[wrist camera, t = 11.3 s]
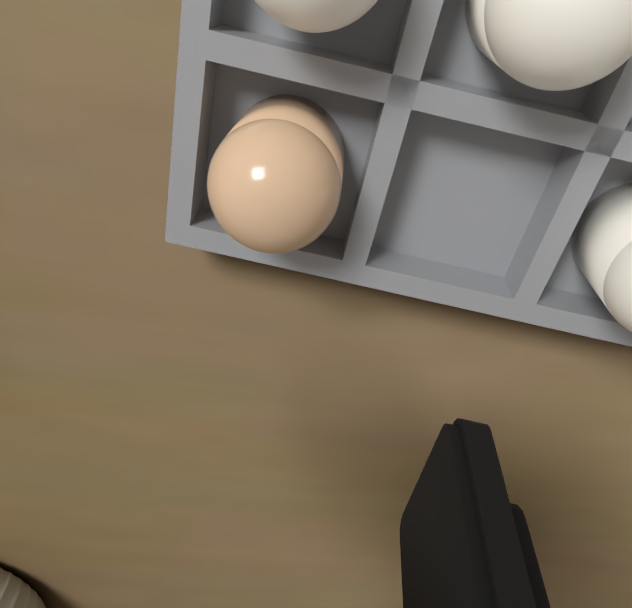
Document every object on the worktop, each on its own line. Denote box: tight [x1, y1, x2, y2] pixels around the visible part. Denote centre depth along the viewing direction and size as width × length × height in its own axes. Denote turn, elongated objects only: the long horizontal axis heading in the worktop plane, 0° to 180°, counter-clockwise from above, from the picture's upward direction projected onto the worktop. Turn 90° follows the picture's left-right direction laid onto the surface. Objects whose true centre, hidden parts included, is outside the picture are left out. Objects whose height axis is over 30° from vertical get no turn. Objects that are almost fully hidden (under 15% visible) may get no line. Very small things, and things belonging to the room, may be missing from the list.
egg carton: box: [165, 0, 632, 347], centre depth 19 cm, size 24×16×7 cm
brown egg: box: [207, 95, 345, 253], centre depth 21 cm, size 5×5×6 cm
